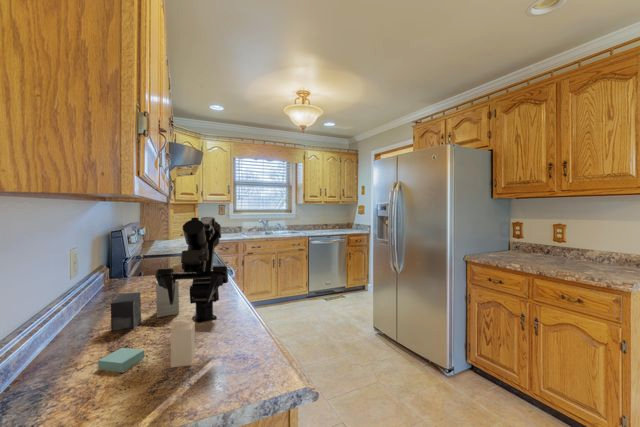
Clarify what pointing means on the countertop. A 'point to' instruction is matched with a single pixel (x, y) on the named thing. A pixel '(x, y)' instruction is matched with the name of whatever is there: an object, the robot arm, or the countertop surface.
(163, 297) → the supplement box
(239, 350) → the countertop surface
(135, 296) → the small box
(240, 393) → the countertop surface
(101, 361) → the teal square slab
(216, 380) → the countertop surface
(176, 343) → the cream column
